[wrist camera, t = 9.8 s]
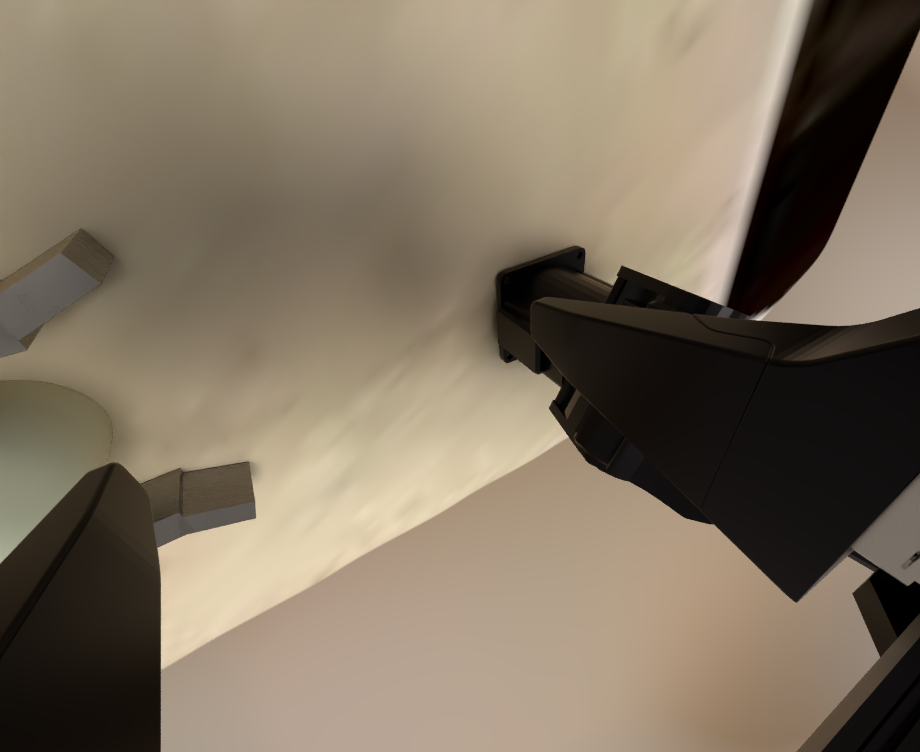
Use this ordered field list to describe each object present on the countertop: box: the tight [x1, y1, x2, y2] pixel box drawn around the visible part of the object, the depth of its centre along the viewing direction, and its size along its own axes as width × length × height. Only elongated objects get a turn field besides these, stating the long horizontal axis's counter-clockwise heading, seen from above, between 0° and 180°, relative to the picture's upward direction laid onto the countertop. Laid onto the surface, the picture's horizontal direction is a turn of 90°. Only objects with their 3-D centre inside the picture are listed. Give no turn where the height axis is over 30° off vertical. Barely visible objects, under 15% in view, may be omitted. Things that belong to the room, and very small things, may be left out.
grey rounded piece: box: [0, 380, 113, 563], centre depth 14 cm, size 5×5×7 cm
